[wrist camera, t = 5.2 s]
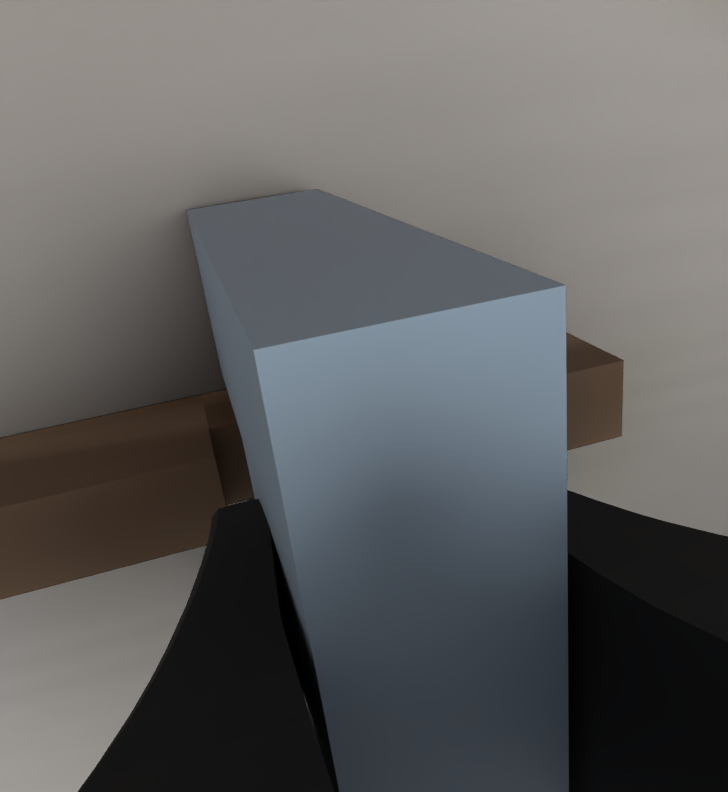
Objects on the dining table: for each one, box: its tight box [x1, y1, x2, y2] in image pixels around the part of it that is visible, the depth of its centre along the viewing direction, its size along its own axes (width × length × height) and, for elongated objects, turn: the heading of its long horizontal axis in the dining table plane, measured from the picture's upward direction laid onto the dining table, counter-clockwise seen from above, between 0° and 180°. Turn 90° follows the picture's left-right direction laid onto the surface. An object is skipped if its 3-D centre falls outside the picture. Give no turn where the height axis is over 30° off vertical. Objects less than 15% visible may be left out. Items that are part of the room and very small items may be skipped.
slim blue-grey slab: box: [186, 189, 569, 792], centre depth 11 cm, size 9×2×8 cm, turn 7°
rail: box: [0, 332, 623, 599], centre depth 14 cm, size 2×12×3 cm, turn 97°
